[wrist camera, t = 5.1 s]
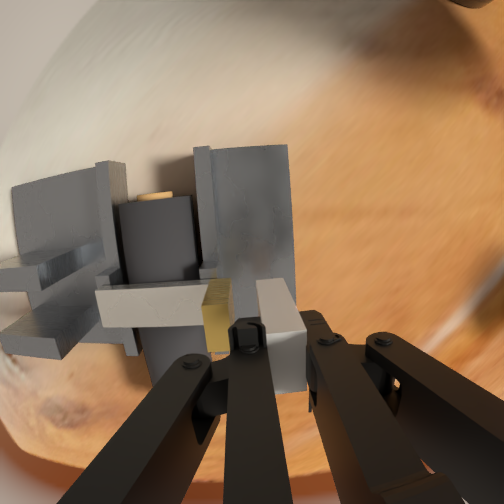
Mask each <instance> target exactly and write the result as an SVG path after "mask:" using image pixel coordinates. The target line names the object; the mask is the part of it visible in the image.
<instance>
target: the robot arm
mask: <svg viewBox="0 0 504 504" xmlns="http://www.w3.org/2000/svg"><path fill="white" fill-rule="evenodd" d="M452 1H454V2H456V3H458V4H460V5H463V6H466V7H470V8H481V7H484V6H485V5H487V4H488V3H490V2H492V1H493V0H452ZM256 290H257V302H258V315H259V316H258V317H246V318H238V319H237V320H236V321H235V322H234V324H233V325H231V326H230V327H229V329H228V337H229V345H230V355H229V356H227V357H226V358H224V359H221V360H218V361H214V362H211V360H210V359H209V357H207V356H206V355H203V354H194V353H191V354H186V355H184V356H181V357H179V358H178V359H176V360H175V361H174V362H173V363H172V365H171V366H170V367H169V368H168V370H167V371H166V372H165V373H164V375H163V376H162V377H161V378H160V379H159V381H158V382H157V383H156V384H155V386H154V387H153V388H152V389H151V390H150V392H149V393H148V394H147V395H146V397H145V398H144V399H143V400H142V401H141V403H140V404H139V405H138V406H137V407H136V409H135V410H134V411H133V412H132V414H131V415H130V416H129V417H128V418H127V420H126V421H125V422H124V423H123V424H122V426H121V427H120V428H119V429H118V431H117V432H116V433H115V434H114V435H113V437H112V438H111V439H110V440H109V441H108V443H107V444H106V445H105V446H104V447H103V449H102V450H101V451H100V452H99V453H98V455H97V456H96V457H95V458H94V459H93V461H92V462H91V463H90V464H89V466H88V467H87V468H86V469H85V470H84V472H83V473H82V474H81V475H80V476H79V478H78V479H77V480H76V481H75V482H74V483H73V485H72V486H71V487H70V488H69V490H68V491H67V492H66V493H65V494H64V495H63V497H62V498H61V499H60V500H59V501H58V503H57V504H181V502H182V500H183V498H184V496H185V494H186V492H187V490H188V488H189V486H190V484H191V482H192V479H193V477H194V475H195V473H196V471H197V469H198V467H199V465H200V463H201V461H202V458H203V456H204V454H205V452H206V450H207V448H208V446H209V443H210V441H211V439H212V437H213V435H214V433H215V430H216V428H217V426H218V424H219V422H220V417H221V416H220V415H221V414H225V413H227V421H226V443H225V467H224V494H223V504H293V500H292V494H291V488H290V482H289V476H288V470H287V464H286V458H285V452H284V446H283V440H282V434H281V428H280V422H279V416H278V410H277V404H276V398H275V394H284V393H292V392H300V391H307V382H308V385H309V412H311V411H312V410H313V413H314V416H315V419H316V423H317V426H318V429H319V433H320V436H321V439H322V442H323V446H324V449H325V452H326V456H327V459H328V462H329V466H330V469H331V472H332V475H333V479H334V482H335V486H336V489H337V492H338V496H339V499H340V503H341V504H465V502H464V501H463V499H464V500H465V501H467V502H468V503H469V504H504V401H503V400H501V399H500V398H498V397H496V396H495V395H493V394H491V393H490V392H488V391H487V390H485V389H483V388H482V387H480V386H478V385H477V384H475V383H474V382H472V381H470V380H469V379H467V378H465V377H464V376H462V375H461V374H459V373H457V372H456V371H454V370H452V369H451V368H449V367H448V366H446V365H444V364H443V363H441V362H439V361H438V360H436V359H435V358H433V357H431V356H430V355H428V354H426V353H425V352H423V351H421V350H420V349H418V348H417V347H415V346H413V345H412V344H410V343H408V342H407V341H405V340H403V339H402V338H400V337H399V336H397V335H395V334H392V333H387V332H378V333H373V334H371V335H369V336H368V337H367V338H366V345H354V344H348V343H347V341H346V340H345V338H344V337H343V336H342V335H340V334H337V333H333V332H332V330H331V329H330V327H329V325H328V324H327V322H326V321H325V319H324V317H323V316H322V314H321V313H319V312H317V311H315V310H309V311H300V312H299V311H298V309H297V307H296V305H295V303H294V300H293V298H292V296H291V294H290V292H289V290H288V287H287V285H286V283H285V281H284V279H283V278H275V279H263V280H256ZM395 379H397V380H398V381H399V383H400V387H399V388H398V387H396V386H395V385H394V382H395ZM420 459H421V460H423V462H425V463H426V464H427V465H428V466H429V467H430V468H431V469H432V470H433V471H434V472H435V473H434V474H431V473H429V472H428V471H427V469H426V468H425V466H424V465H423V463H422V461H421V460H420ZM461 497H462V498H463V499H462V498H461Z"/></svg>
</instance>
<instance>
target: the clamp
mask: <svg viewBox="0 0 504 504" xmlns="http://www.w3.org/2000/svg"><path fill="white" fill-rule="evenodd" d="M193 152H194V166H195V179H196V192H197V203H198V214H199V225H200V235H201V245H202V255H203V263H202V265H201V267H200V268H199V273H200V280H205V279H219V278H231V282H232V292H233V302H234V312H235V321H236V320H237V319H238V318H246V317H258V316H259V315H258V302H257V290H256V280H263V279H275V278H283V279H284V281H285V283H286V285H287V287H288V290H289V292H290V294H291V296H292V298H293V300H294V303H295V305H296V285H295V260H294V239H293V220H292V203H291V188H290V174H289V160H288V147H287V145H266V146H250V147H236V148H224V149H214V150H212V149H211V147H210V146H202V147H193ZM95 165H96V167H93V168H88V169H83V170H78V171H74V172H69V173H65V174H61V175H57V176H52V177H48V178H44V179H40V180H37V181H33V182H29V183H25V184H22V185H18V186H15V187H12V198H13V209H14V219H15V227H16V234H17V241H18V247H19V253H20V255H19V256H17V257H14V258H12V259H9V260H6V261H4V262H1V263H0V292H28V296H29V300H30V304H31V308H32V311H30V312H29V313H27V314H26V315H24V316H23V317H21V318H20V319H19V320H17V321H16V322H14V323H13V324H11V325H10V326H8V327H7V328H5V329H4V330H3V331H1V332H0V341H1V343H2V346H3V349H4V352H5V353H9V354H15V355H22V356H30V357H38V358H47V359H57V360H62V359H63V358H64V357H65V356H66V355H67V354H68V353H69V352H70V351H71V349H72V348H73V347H74V346H75V345H76V344H77V343H78V342H80V343H112V344H124V348H125V352H126V355H127V356H139V354H140V353H141V351H142V349H143V347H142V343H141V338H140V334H139V330H138V327H103V325H102V321H101V317H100V312H99V308H98V304H97V299H96V295H95V290H96V289H98V288H99V287H100V286H106V285H125V284H129V279H128V273H127V267H126V260H125V254H124V247H123V239H122V232H121V224H120V215H119V205H118V204H123V203H128V193H127V181H126V167H125V163H120V162H114V161H109V160H108V161H103V162H98V163H95ZM217 354H229V351H224V352H215V355H217Z"/></svg>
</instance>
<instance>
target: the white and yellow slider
mask: <svg viewBox="0 0 504 504" xmlns="http://www.w3.org/2000/svg"><path fill="white" fill-rule="evenodd" d="M95 295H96V299H97V304H98V308H99V312H100V317H101V321H102V325H103V327H168V326H193V325H204V330H205V337H206V343H207V350H208V352H224V351H230V345H229V337H228V329H229V327H230V326H231V325H233V324H234V322H235V312H234V302H233V292H232V282H231V278H219V279H205V280H191V281H175V282H160V283H143V284H125V285H106V286H100V287H99V288H98V289H96V290H95Z"/></svg>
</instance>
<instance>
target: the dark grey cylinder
mask: <svg viewBox="0 0 504 504" xmlns="http://www.w3.org/2000/svg"><path fill="white" fill-rule="evenodd" d="M118 205H119V215H120V224H121V232H122V239H123V247H124V254H125V260H126V267H127V273H128V279H129V284H143V283H160V282H175V281H191V280H200V273H199V260H198V251H197V242H196V232H195V222H194V212H193V201H192V195H189V196H179V197H173V194H172V191H171V192H161V193H152V194H145V195H138V196H137V202H130V203H123V204H118ZM138 330H139V334H140V338H141V343H142V347H143V351H144V355H145V359H146V363H147V367H148V370H149V374H150V378H151V381H152V385H153V387H154V386H155V384H156V383H157V382H158V381H159V379H160V378H161V377H162V376H163V375H164V373H165V372H166V371H167V370H168V368H169V367H170V366H171V365H172V363H173V362H174V361H175V360H176V359H178V358H179V357H181V356H184V355H186V354H191V353H194V354H203V355H206V356H207V357H209V359H210V360H211V362H212V358H211V352H208V350H207V343H206V337H205V330H204V325H193V326H168V327H138Z"/></svg>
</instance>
